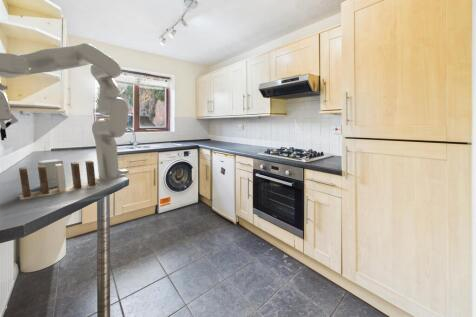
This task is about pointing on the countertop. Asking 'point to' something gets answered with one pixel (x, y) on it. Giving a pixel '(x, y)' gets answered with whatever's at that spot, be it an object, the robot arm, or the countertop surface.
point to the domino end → (24, 182)
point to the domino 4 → (90, 173)
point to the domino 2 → (60, 177)
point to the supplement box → (51, 171)
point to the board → (55, 191)
